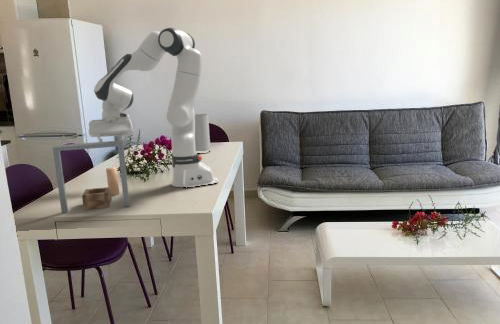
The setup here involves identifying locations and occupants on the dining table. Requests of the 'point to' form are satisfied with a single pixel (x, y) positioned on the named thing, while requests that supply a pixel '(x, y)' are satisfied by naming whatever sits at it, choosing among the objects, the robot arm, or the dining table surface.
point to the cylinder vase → (202, 132)
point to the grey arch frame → (89, 146)
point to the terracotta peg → (113, 180)
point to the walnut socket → (97, 198)
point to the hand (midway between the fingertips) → (111, 142)
